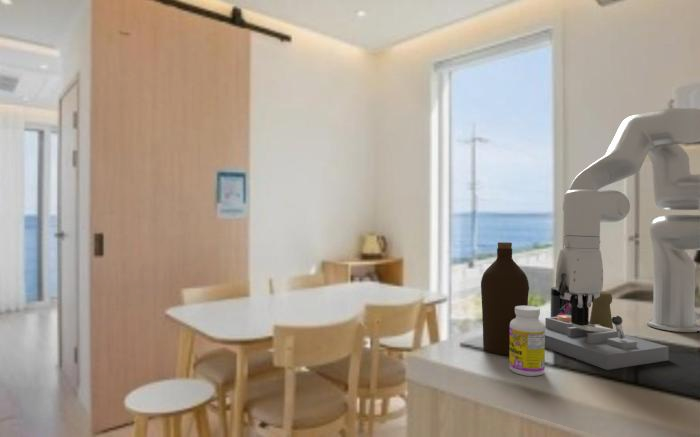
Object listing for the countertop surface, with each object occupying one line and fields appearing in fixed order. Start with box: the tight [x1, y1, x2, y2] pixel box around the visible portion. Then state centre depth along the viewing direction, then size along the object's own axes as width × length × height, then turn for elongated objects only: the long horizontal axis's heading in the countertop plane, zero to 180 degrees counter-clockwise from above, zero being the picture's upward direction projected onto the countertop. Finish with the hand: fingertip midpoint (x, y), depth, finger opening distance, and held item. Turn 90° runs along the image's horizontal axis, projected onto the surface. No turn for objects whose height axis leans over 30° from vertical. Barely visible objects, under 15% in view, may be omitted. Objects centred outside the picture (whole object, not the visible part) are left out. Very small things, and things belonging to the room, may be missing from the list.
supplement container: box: [550, 286, 572, 317], centre depth 133 cm, size 7×7×10 cm
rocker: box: [573, 324, 615, 332], centre depth 107 cm, size 9×4×1 cm, turn 111°
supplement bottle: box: [508, 305, 546, 377], centre depth 93 cm, size 7×7×13 cm
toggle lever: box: [612, 315, 625, 339], centre depth 101 cm, size 2×2×5 cm
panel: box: [544, 316, 670, 371], centre depth 108 cm, size 18×24×6 cm
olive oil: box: [480, 241, 530, 356], centre depth 108 cm, size 11×11×25 cm
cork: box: [589, 290, 614, 329], centre depth 124 cm, size 6×6×11 cm
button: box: [557, 315, 572, 323], centre depth 115 cm, size 4×4×3 cm
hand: (579, 324), depth 106 cm, fingers closed
